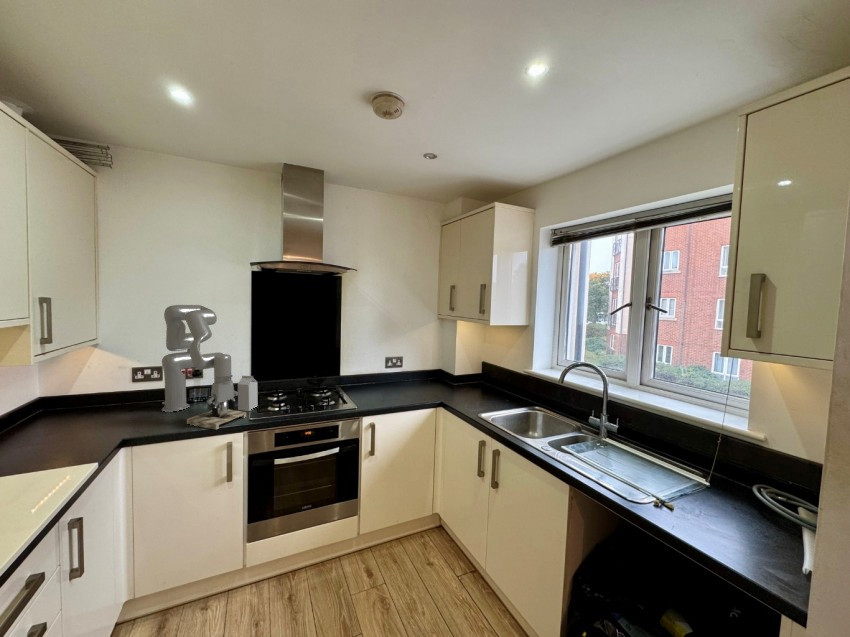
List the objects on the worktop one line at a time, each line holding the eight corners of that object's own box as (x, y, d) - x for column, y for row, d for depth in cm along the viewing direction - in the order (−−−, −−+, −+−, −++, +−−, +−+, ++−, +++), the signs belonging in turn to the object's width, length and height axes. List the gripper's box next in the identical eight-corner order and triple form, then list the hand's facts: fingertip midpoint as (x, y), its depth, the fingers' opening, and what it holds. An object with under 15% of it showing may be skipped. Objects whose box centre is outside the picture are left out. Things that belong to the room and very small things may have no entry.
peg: (213, 423, 170) (213, 401, 170) (224, 419, 176) (223, 398, 175) (223, 424, 168) (222, 402, 168) (233, 420, 174) (232, 399, 174)
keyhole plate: (186, 424, 168) (186, 418, 168) (218, 413, 185) (218, 407, 185) (216, 429, 162) (216, 423, 162) (246, 417, 179) (246, 411, 179)
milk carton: (249, 411, 188) (248, 377, 187) (238, 410, 190) (237, 377, 189) (257, 407, 195) (257, 375, 194) (247, 406, 197) (246, 374, 196)
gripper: (231, 374, 180) (232, 406, 181) (201, 382, 164) (202, 416, 165) (242, 376, 178) (243, 407, 179) (213, 383, 162) (213, 418, 163)
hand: (223, 412), depth 172 cm, fingers open, 9 cm apart
